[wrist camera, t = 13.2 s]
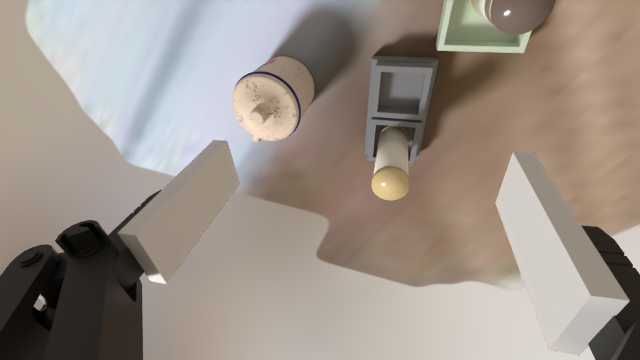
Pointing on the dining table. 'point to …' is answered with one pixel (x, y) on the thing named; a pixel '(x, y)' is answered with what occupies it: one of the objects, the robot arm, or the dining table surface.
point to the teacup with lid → (273, 98)
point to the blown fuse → (513, 13)
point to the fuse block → (399, 99)
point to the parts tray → (473, 32)
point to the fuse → (391, 164)
